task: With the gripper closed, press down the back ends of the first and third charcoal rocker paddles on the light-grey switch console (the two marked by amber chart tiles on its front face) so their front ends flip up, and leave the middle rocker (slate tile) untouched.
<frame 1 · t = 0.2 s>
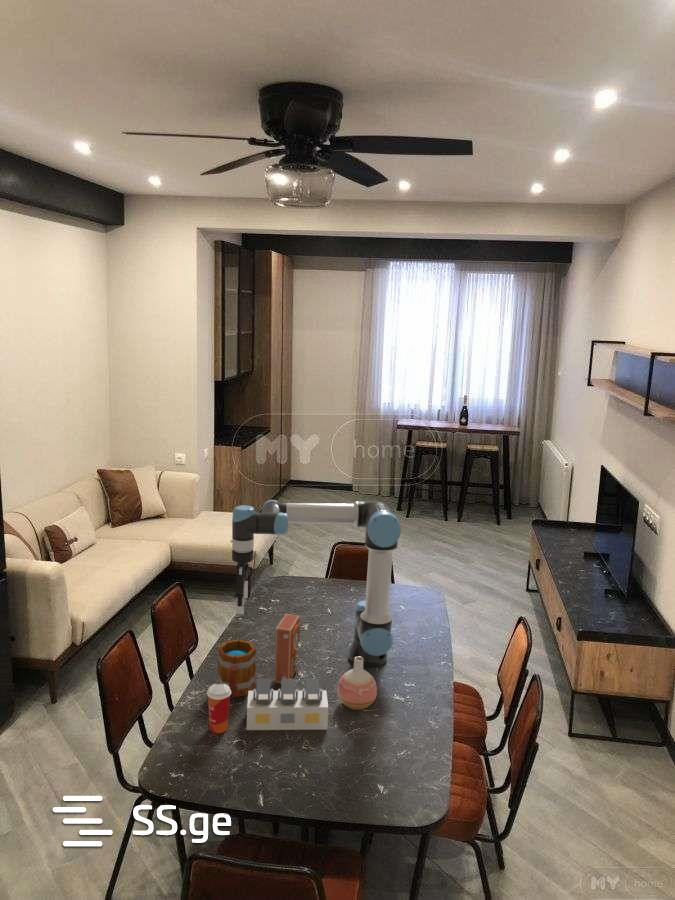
hand: (241, 605, 253), 28 cm above the table, fingers open, 13 cm apart
rocker C: (263, 690, 229), point 11 cm above the table, hinge at -18.0°
control panel: (286, 675, 261), on the table
console: (287, 720, 232), on the table
vase: (356, 705, 243), on the table
paper cup: (218, 729, 227), on the table
rocker B: (288, 690, 230), point 11 cm above the table, hinge at -18.0°
rocker A: (312, 690, 231), point 11 cm above the table, hinge at -18.0°
mug: (235, 692, 248), on the table
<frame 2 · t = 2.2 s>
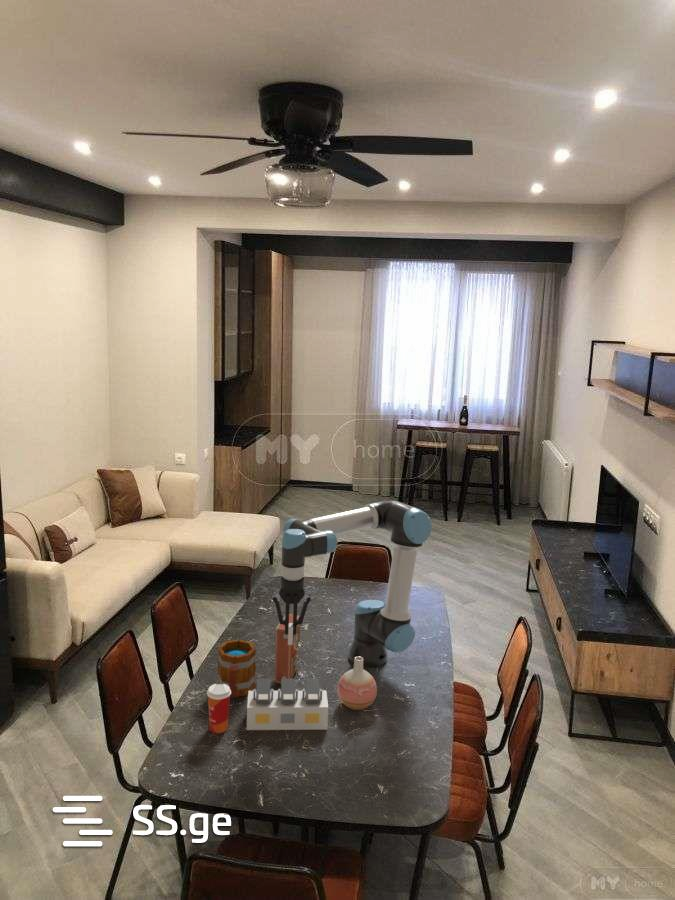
hand: (290, 642, 235), 24 cm above the table, fingers closed
nothing on the table moved.
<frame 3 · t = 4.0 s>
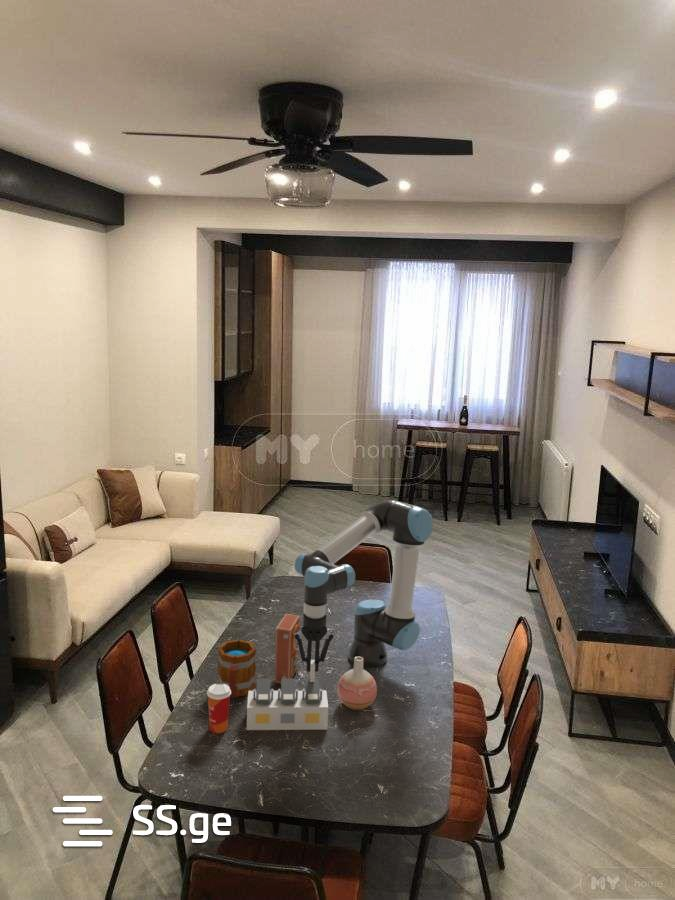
hand: (311, 679, 234), 13 cm above the table, fingers closed
rocker A: (312, 690, 231), point 11 cm above the table, hinge at -17.4°, touching gripper
everything else where it was.
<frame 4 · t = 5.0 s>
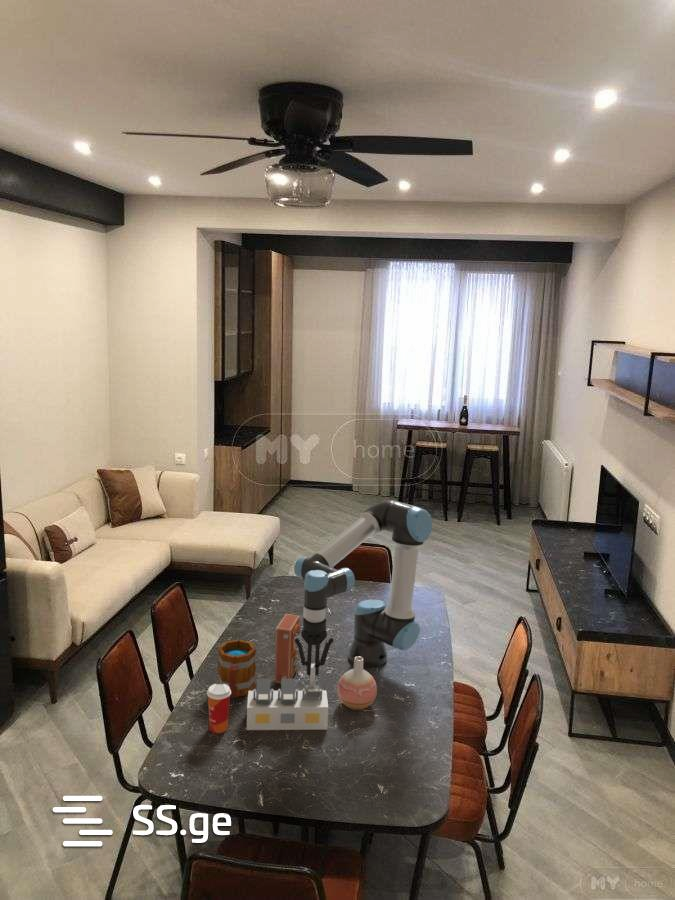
hand: (312, 683, 234), 12 cm above the table, fingers closed
rocker A: (312, 690, 231), point 11 cm above the table, hinge at 17.4°
everything else where it was.
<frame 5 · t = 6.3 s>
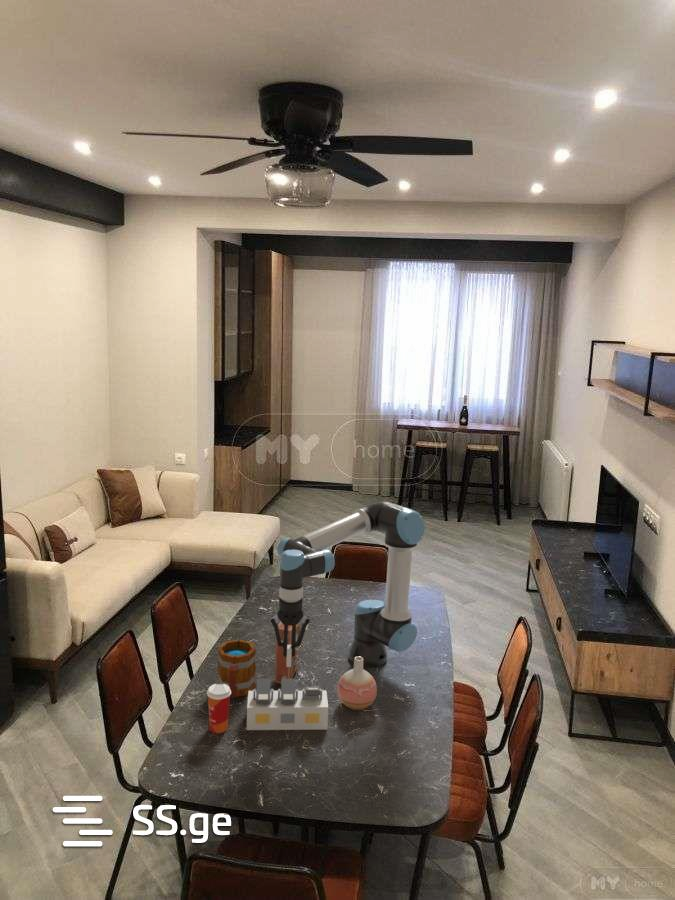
hand: (288, 664, 232), 18 cm above the table, fingers closed
rocker A: (312, 690, 231), point 11 cm above the table, hinge at 23.8°
everything else where it was.
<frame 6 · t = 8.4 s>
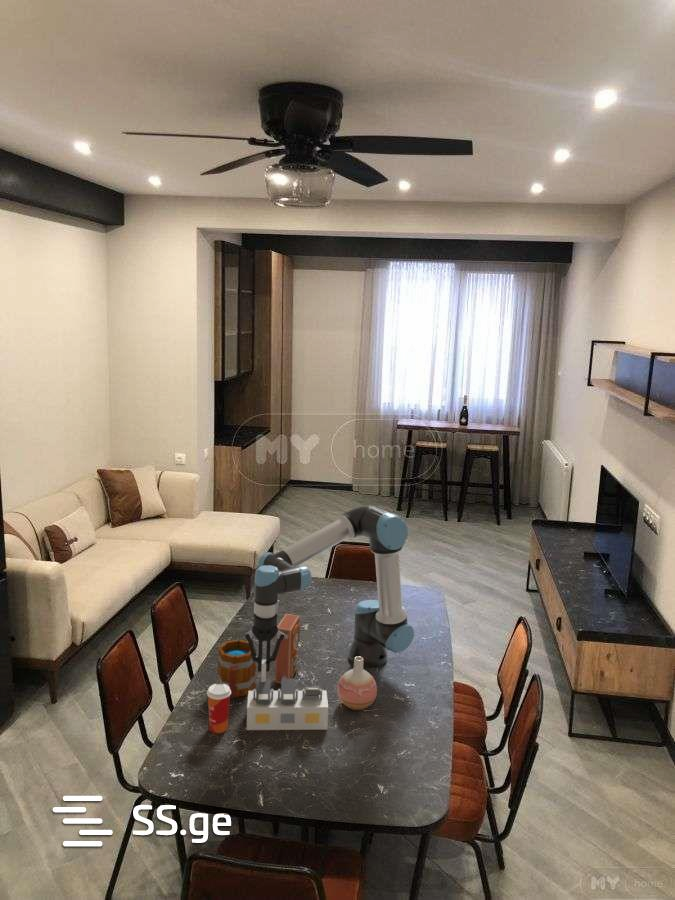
hand: (263, 679, 232), 13 cm above the table, fingers closed
rocker C: (263, 690, 229), point 11 cm above the table, hinge at -17.1°, touching gripper
rocker A: (312, 690, 231), point 11 cm above the table, hinge at 24.5°
everything else where it was.
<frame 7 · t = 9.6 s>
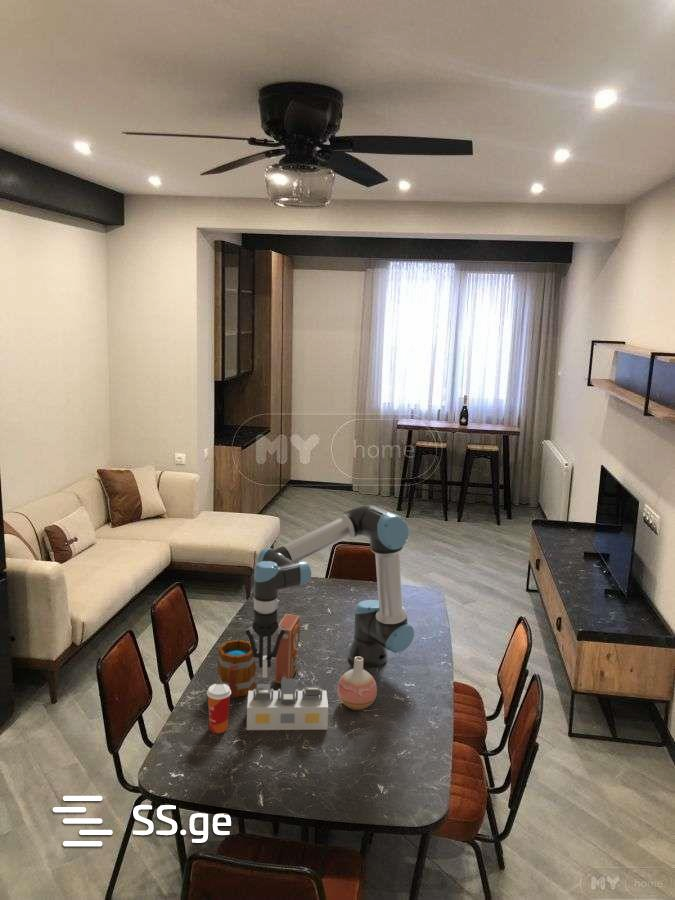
hand: (264, 675, 232), 14 cm above the table, fingers closed
rocker C: (263, 690, 230), point 11 cm above the table, hinge at 11.8°
everything else where it was.
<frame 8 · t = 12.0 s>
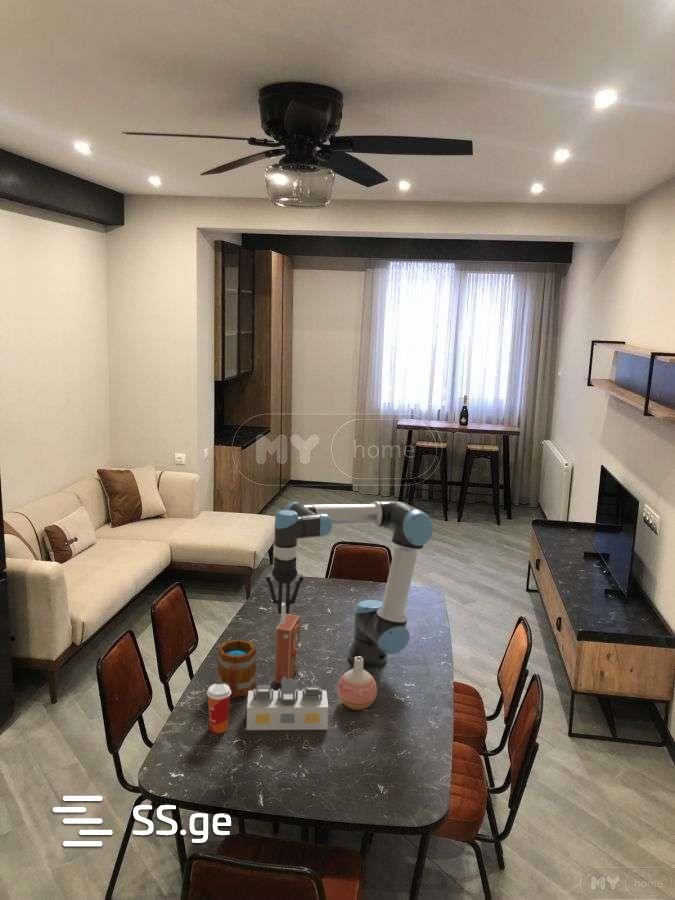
hand: (283, 622, 240), 28 cm above the table, fingers closed
rocker C: (263, 690, 230), point 11 cm above the table, hinge at 16.8°
everything else where it was.
at the end: rocker A at +24° (first picture: -18°); rocker B at -18° (first picture: -18°); rocker C at +17° (first picture: -18°) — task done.
